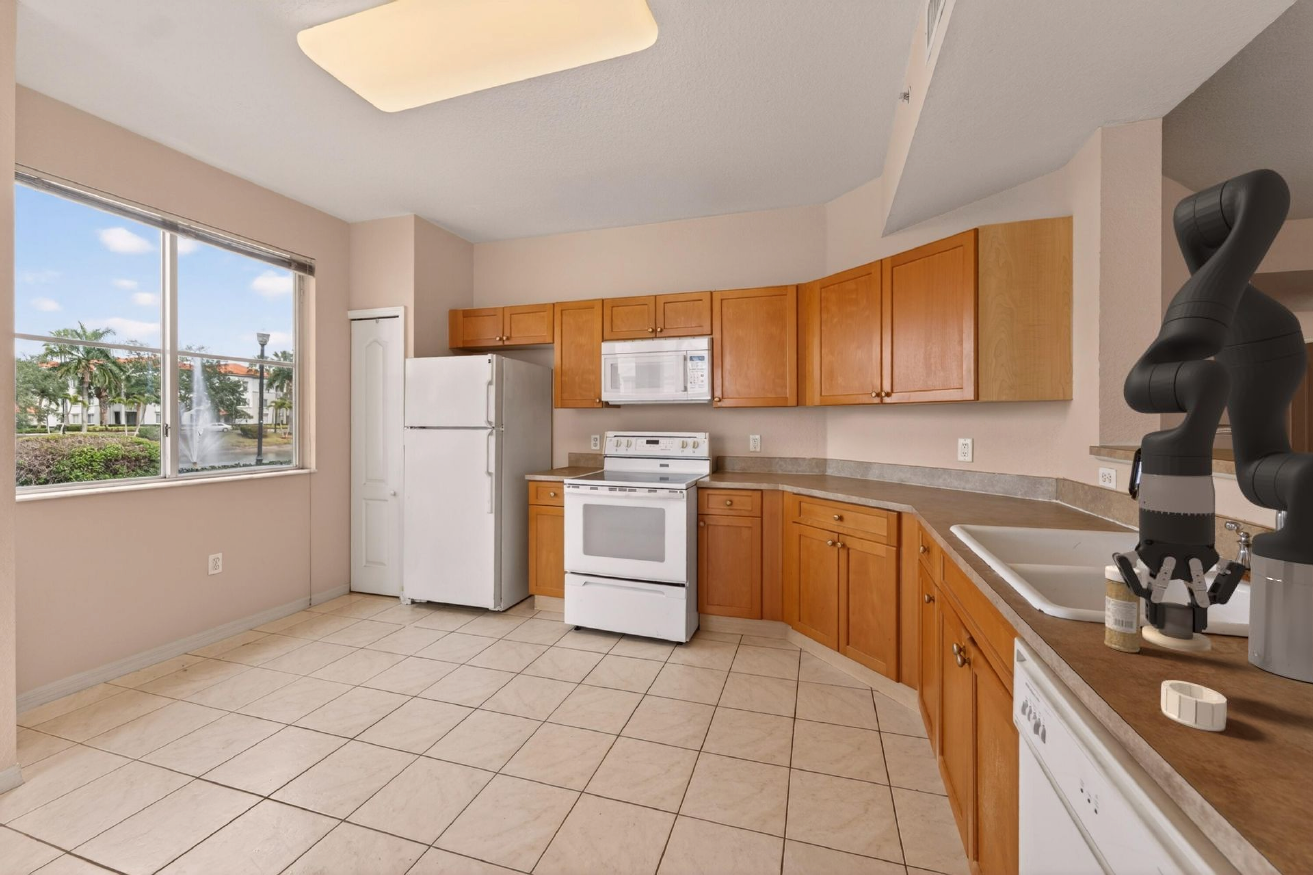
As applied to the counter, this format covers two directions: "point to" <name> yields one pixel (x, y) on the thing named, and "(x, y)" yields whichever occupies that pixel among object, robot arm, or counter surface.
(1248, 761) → the counter surface
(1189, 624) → the lid
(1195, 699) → the bowl
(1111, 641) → the sprinkles bottle
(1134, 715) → the counter surface
